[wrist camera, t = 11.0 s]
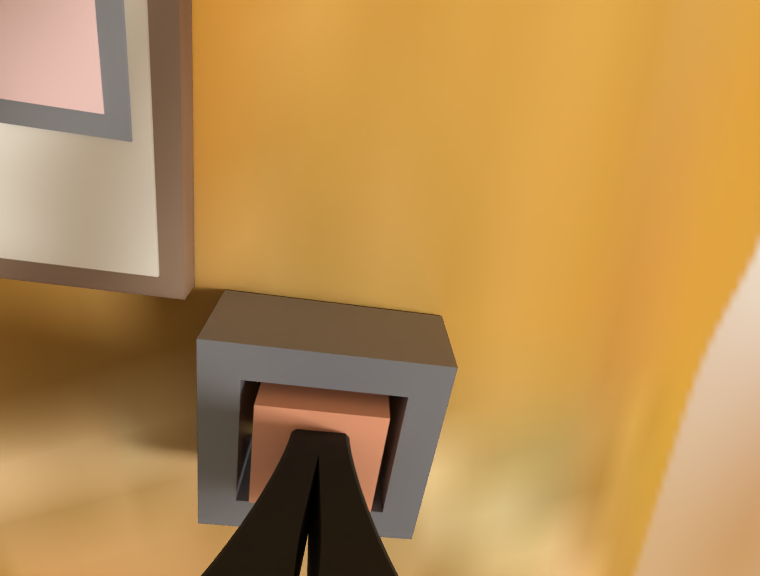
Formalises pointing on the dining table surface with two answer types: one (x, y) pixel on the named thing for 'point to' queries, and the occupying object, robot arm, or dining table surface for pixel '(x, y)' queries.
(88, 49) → the colouring board
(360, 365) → the button housing
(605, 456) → the dining table surface
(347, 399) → the button
